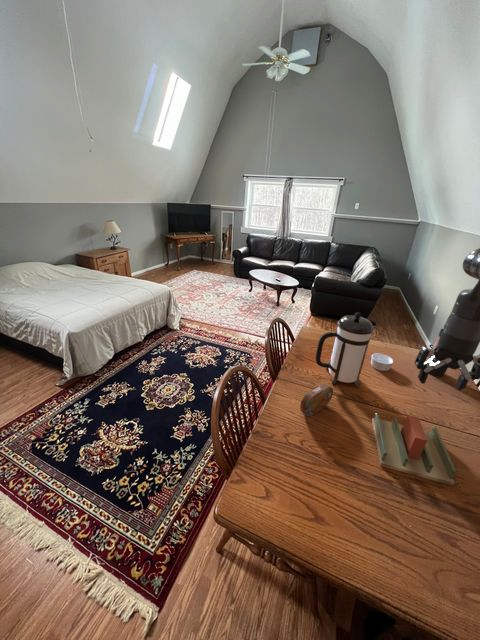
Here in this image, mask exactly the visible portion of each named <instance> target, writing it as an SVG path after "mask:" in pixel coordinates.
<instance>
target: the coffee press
mask: <svg viewBox="0 0 480 640" xmlns="http://www.w3.org/2000/svg"><path fill="white" fill-rule="evenodd" d="M372 334H375V331H374V327H373V323H372V322H371V321H370V320H369V319H367V318H365V317H364V316H362V314H361V313H360V312H355V313H354V314H349V315H344V316H342V317H341V318H339V320H338V321H337V329H336V332H333V331H328V332H325V333H323V334H322V335H321V336H320V337H319V339H318V342H317V347H316V353H315V361H316V364H317V365H318V366H319V367H321V368H325V370H326V371H327V372H328V373H329V375H330V376H331V377H332V378H333V380H332V381H331V384H332V385H333V386H336V385H337V384H338V382H341V383H345V384H351V383H354V385H355V387H357V388H358V387H360V386H361V381H360V375H361V373H362V368H363V365H364V361H365V359H366V354H367V351H368V349H369V348H368V347H369V344H370V342H371V337H372ZM328 338H334V343H333V348H332V351H331V356H330V360H329V362H322V360H321V357H322V352H323V346H324V343H325V341H326V340H327V339H328Z"/></svg>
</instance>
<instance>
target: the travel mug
mask: <svg viewBox="0 0 480 640" xmlns="http://www.w3.org/2000/svg"><path fill="white" fill-rule="evenodd" d="M443 329H444V328H441V329H440V330H439V332H438V334H437V337H436V340H435V342H434V344H433V347H432V349H435V348H436V347H437V345H438V341H439V339H440V336H441V334H442V331H443ZM433 356H434V354H431V355H430V357H428V359H430V358H431V357H433ZM435 363H437V361H435ZM447 371H448V368H443V367H442V366H441V367H439V368H437V369H433V370H431V371H429V372H428V373H429V374H428V375H431V376H433V377H437V378H438V377H439V378H443V377H444V376H445V374H446V372H447Z"/></svg>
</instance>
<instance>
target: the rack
mask: <svg viewBox="0 0 480 640" xmlns="http://www.w3.org/2000/svg"><path fill="white" fill-rule="evenodd" d="M371 423H372V428H373V434H374V435H373V436H374V440H375V444H376V450H377V456H378V461H379V466H380V467H384V468H387V469H390V470H394V471H398V472H401V473H404V474H409V475H411V476H416V477H419V478H423V479H426V480H430V481H434V482H436V483H437V482H438V483H441V484H444V485H449V486H451V487H452V486H454V485H455V484H456V483H455V479H454V477H455V476H456V474H457V469H456V467H455V465H454V463H453V460H452V458H451V457H450V454H449V452H448V450H447V447H446V445H445V443H444V441H443V439H442V437H441V435H440V433H439V430H438V428H437V427H436V426H432V429H431V430H427V429H423V430H424V433H425V435H426V438H427V440H428V441H427V443H426V445H425V447H424V449H423V451H422V453H421V455H420V458H419V460H415V459H411V458H408V455H407V452H406V449H405V445H404V442H403V439H402V435H401V429H402V427H403V424H401V423H399V422H398V419H397V417H393V418H392V420H391V421H388V420H385V419H384V420H383V419H380V415H379V413H377V412H376V413H375V415H374V417H372V419H371Z"/></svg>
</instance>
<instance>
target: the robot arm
mask: <svg viewBox="0 0 480 640" xmlns="http://www.w3.org/2000/svg"><path fill="white" fill-rule="evenodd" d="M462 270H463V272H464V273H465V274H466V275H467V276H469V277H471V278H472V279H473V278H474V279H475V280H478V281H477V283H476V284H475V285H474V287H472V288H466V289H463V290H461V291H460V292H459V293H458V295H457V297H456V300H455V302H454V305H453V307H452V309H451V312H450V314H449V315H448V317H447V319H446V321H445V323H444V325H443V328H442V329H443V331H442V334H441V336H440V339H439V341H438V345H437V347H436V348H435V349H433V348H430V347H429V348H428V347H427V345H422V346H421V347H420V349H419V351H418V354H417V356H416V358H415V360H414V365H415V367H416V369H417V370H419V373H418V375H417V378H418V381H419V382H420V383H421V384H422V385H423V384H425V385H426V382H427V379H428V377H429V375H430V374H429V373H428V372H429V371H431V370H433V369H437V368H439V367H441V366H442V367H443V368H447V369H451V370H456V371H457V370H458V369H459V371H460V374H459V375H458V377H457V380H456V381H455V384H454V387H455V389H456V390H457V391H462V390H464V389H465V388H466V386H467V385H468V383H469V381H470V380H472V379H475V380H480V353H479V354H477V355H474V354H476V352H477V349H478V347H479V345H480V247H478V248H476V249H475V250H473V251H471V252H470V253H468V255H467V256H465V258H464V260H463V261H462ZM431 354H434V356H433V357H431V358H430V359H429V357H430V355H431ZM435 361H437V363H435ZM472 362H473V364H472V367H471V370H468V367H467V366H466V365H468V364H469V363H472Z"/></svg>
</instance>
